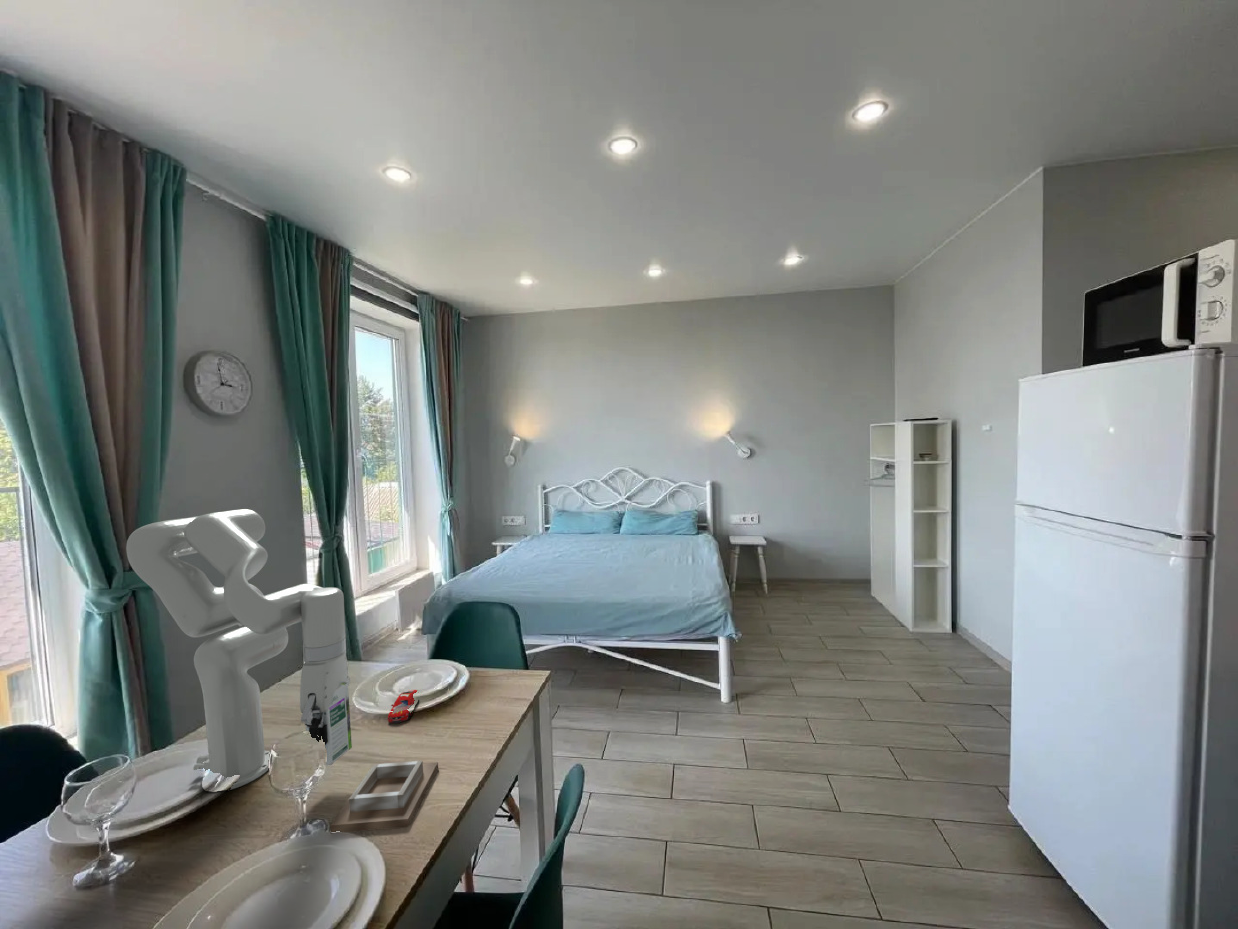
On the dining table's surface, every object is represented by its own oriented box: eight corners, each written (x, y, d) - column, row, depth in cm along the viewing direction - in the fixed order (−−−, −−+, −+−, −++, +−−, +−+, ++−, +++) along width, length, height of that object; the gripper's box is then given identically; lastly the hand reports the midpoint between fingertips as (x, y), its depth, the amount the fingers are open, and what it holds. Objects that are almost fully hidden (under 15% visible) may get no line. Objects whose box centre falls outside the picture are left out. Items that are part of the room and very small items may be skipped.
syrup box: (331, 766, 97) (328, 695, 96) (306, 762, 98) (303, 693, 97) (352, 748, 102) (349, 681, 102) (328, 745, 104) (325, 679, 103)
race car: (407, 724, 123) (406, 709, 123) (385, 727, 122) (383, 711, 122) (422, 698, 136) (421, 684, 136) (402, 700, 135) (401, 686, 135)
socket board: (330, 833, 87) (328, 812, 87) (372, 774, 103) (371, 756, 103) (408, 827, 88) (406, 805, 88) (438, 769, 104) (437, 751, 104)
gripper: (330, 633, 108) (333, 712, 109) (278, 669, 91) (282, 762, 91) (364, 632, 108) (367, 710, 109) (318, 668, 91) (323, 760, 92)
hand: (328, 733), depth 100 cm, fingers closed on syrup box, 6 cm apart
